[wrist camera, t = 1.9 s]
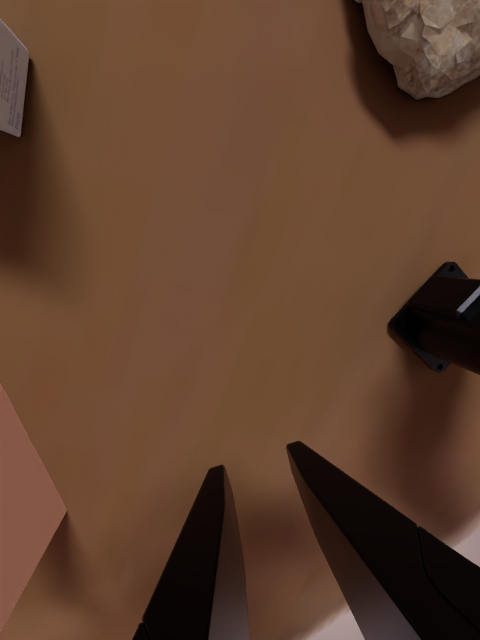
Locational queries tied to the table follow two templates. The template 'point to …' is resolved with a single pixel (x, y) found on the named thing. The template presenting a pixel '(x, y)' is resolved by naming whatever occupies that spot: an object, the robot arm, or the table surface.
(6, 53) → the medicine box
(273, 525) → the table surface
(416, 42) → the flat grey rock
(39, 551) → the terracotta tile
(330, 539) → the robot arm
